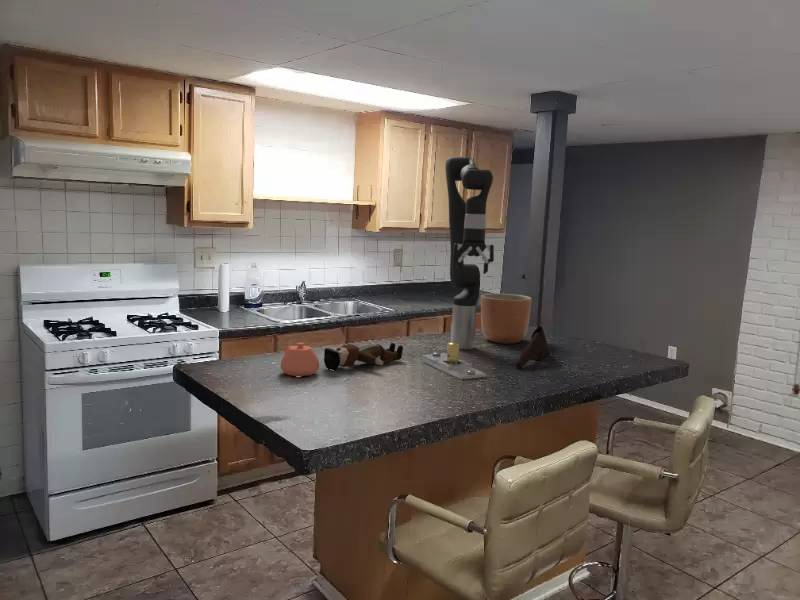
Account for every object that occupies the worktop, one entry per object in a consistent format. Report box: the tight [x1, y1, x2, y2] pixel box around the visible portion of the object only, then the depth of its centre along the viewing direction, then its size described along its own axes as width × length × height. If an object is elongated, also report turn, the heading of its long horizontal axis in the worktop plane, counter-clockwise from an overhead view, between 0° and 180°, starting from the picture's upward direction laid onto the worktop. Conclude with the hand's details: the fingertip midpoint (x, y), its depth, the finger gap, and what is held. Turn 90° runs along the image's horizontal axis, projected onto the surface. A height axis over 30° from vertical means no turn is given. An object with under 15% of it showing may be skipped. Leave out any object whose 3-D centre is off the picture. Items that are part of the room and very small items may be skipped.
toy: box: [323, 342, 404, 372], centre depth 218 cm, size 24×10×30 cm
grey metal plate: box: [421, 351, 487, 381], centre depth 217 cm, size 26×10×3 cm, turn 28°
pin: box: [446, 341, 460, 365], centre depth 216 cm, size 4×4×9 cm
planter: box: [480, 292, 532, 345], centre depth 267 cm, size 21×21×19 cm
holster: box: [515, 326, 551, 370], centre depth 232 cm, size 5×16×25 cm
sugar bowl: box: [280, 342, 320, 377], centre depth 203 cm, size 12×14×10 cm
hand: (472, 273), depth 224 cm, fingers open, 8 cm apart
